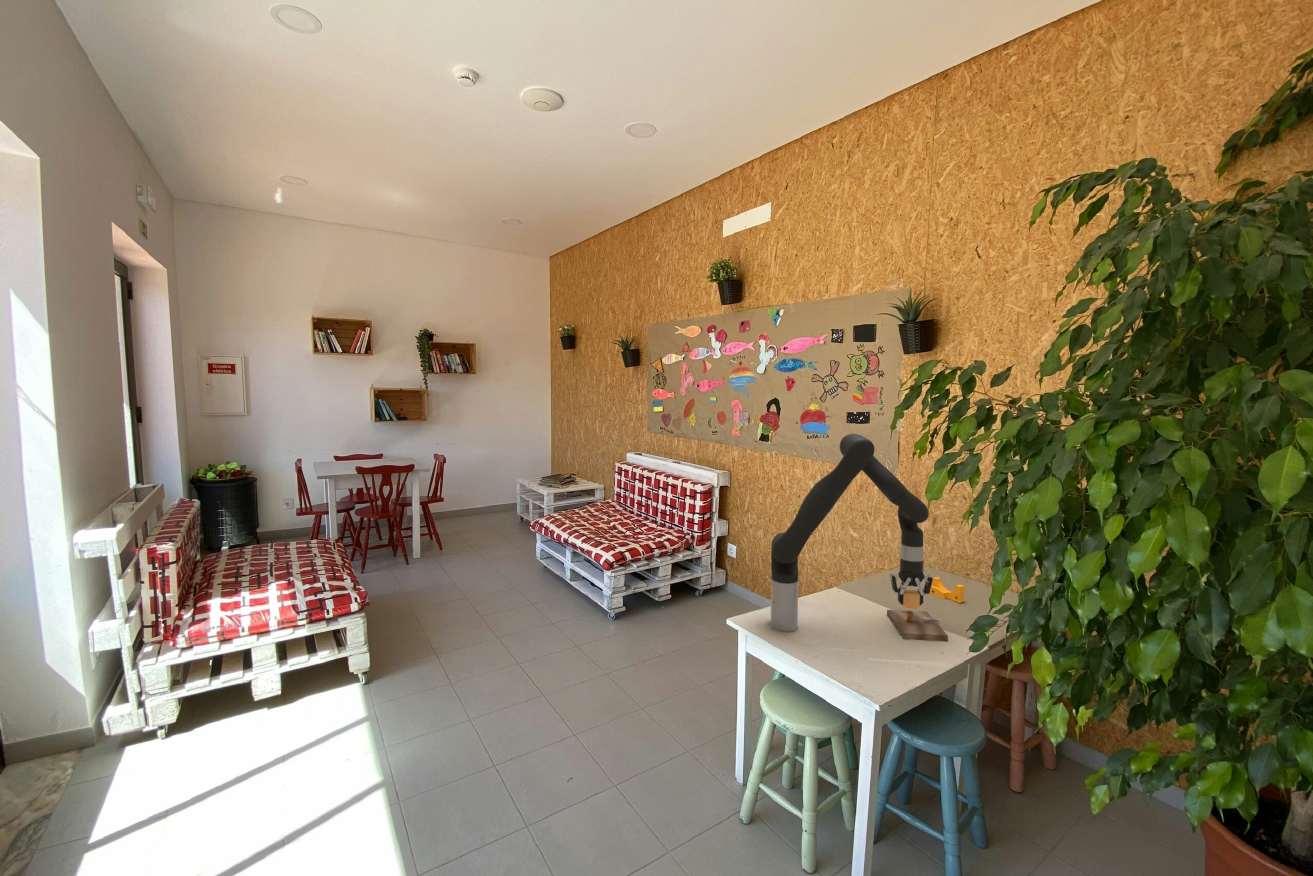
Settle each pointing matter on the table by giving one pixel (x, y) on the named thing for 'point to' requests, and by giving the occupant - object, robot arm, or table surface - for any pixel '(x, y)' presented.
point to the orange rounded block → (911, 598)
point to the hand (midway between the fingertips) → (910, 604)
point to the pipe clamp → (947, 591)
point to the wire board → (917, 625)
